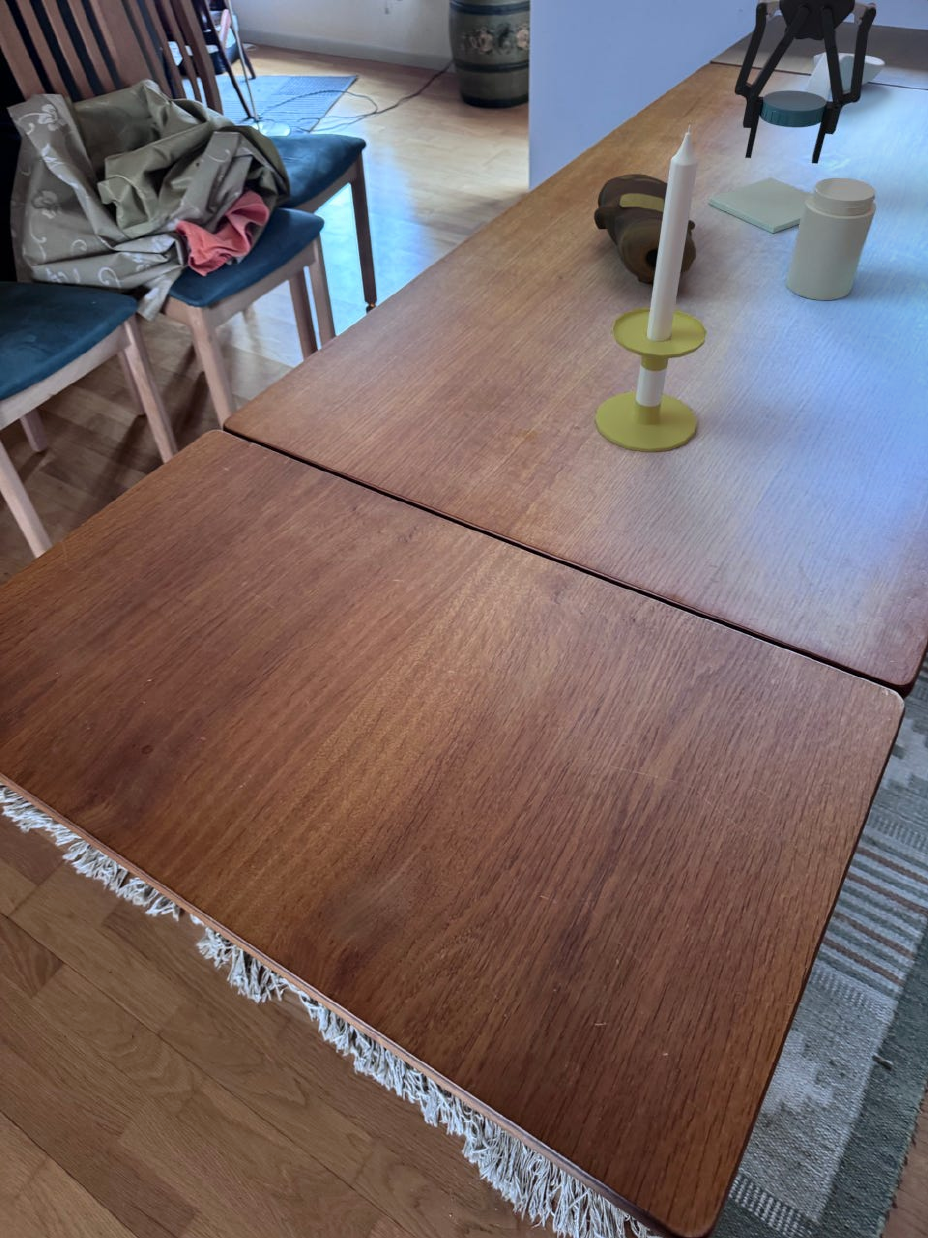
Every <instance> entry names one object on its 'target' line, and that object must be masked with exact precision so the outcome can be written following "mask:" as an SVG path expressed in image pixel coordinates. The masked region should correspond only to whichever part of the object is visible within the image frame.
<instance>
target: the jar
mask: <svg viewBox="0 0 928 1238" xmlns="http://www.w3.org/2000/svg"><path fill="white" fill-rule="evenodd" d="M812 191H813V192H812V193H810V194H811V195H810V196H808V197H807V198H806V200H805V204H804V208H803V212H802V216H801V220H800V224H798V229H797V232H796V237H795V241H794V243H793V248H792V252H791V256H790V260H789V264H788V268H787V272H786V276H785V280H784V283H785V286H786V288H787V289H788V290H789V291H791V292H792V293H794V294H795V295H798V296H800V297H802V298H806V299H809V300H817V301H832V300H833V301H834V300H839V299H842V298H844V297H846V296H847V295H849V294H850V292H851V291H852V288H853V285H854V281H855V278H856V275H857V272H858V269H859V266H860V262H861V259H862V257H863V253H864V250H865V246H866V243H867V240H868V236H869V233H870V230H871V227H872V223H873V221H874V217H875V214H876V211H877V205H876V203H875V202H874V201H875V199H876V189H875V188H874V187H873V186H872V185H871V184H870V183H867V182H865V181H861V180H859V179H855V178H849V177H829V178H825V179H821V180H819V181H818V182H816V183H815V185H814V187H813V190H812Z"/></svg>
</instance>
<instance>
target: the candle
mask: <svg viewBox="0 0 928 1238" xmlns="http://www.w3.org/2000/svg"><path fill="white" fill-rule="evenodd" d="M691 128H692V125H691V124H689V125H688V130H687V132H685V135H684V138H683V141H682V143H681V146H680V147H679V148H678V151H677V152H676V154H675V155H673V156H672V157H671V159H670V164H669V169H668V170H669V172H668V177H667V183H668V185H667V192H666V199H665V206H664V214H663V221H662V228H661V235H660V243H659V250H658V257H657V264H656V271H655V279H654V281H653V287H652V292H651V293H652V294H651V301H650V306H649V307H644V308H643V307H642V308H637V309H633V310H631V311H627V312H624V313H623V314H622V315H620V316H619V317H618V318H616V319H615V320H614V321H613V325H612V328H611V333H612V336H613V338H614V340H615V342H616V344H618V345H619V346H620V347H622V348H623V349H625V350H626V351H627V352H630V353H633V354H635V355H638V356H641V359H640V366H639V373H638V380H637V387H636V391H627V392H626V391H625V392H622V393H619V394H617V395H613V396H611V397H609V398H607V399H606V400H605V401H604V402H603V403H602V404H600V405H599V406H598V408H597V411H596V414H595V417H594V422H595V425H596V427H597V431H598V432H599V433H600V434H601V435H602V436H603V437H604V438H606V439H607V440H608V441H609V442H610V443H613V444H615V445H618V446H619V447H622V448H625V449H627V450H633V451H639V452H646V453H653V452H654V453H655V452H665V451H670V450H673V449H676V448H678V447H680V446H683V445H685V444H686V443H687V442H689V440H690V439H691V438H693V437H694V435H695V434H696V429H697V424H698V420H697V417H696V416H695V414H694V412H693V410H692V408H691V407H689V406H688V405H687V404H685V402H683V401H681V400H680V399H678V398H675V397H672V396H670V395H667V394H664V389H665V383H666V376H667V370H668V364H669V359H674V358H681V357H685V356H687V355H690V354H694V353H695V352H697V350H699V349H700V348H701V347H702V346H703V345H704V344H705V341H706V336H707V329H706V328H705V326H704V325H703V324H704V323H702V321H701V320H699V319H697V318H696V317H695V316H693V315H692V314H689V313H686V312H683V311H680V310H677V309H675V308H676V301H677V296H678V295H677V294H678V290H679V284H680V283H679V282H680V277H681V275H680V271H681V265H682V259H683V252H684V246H685V240H686V234H687V227H688V221H689V220H690V216H691V215H690V214H691V210H692V209H691V207H692V201H693V195H694V189H695V183H696V177H697V170H698V165H699V159H698V158H697V157H696V156H695V152H694V148H693V140H692V132H690V131H691Z"/></svg>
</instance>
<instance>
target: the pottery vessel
mask: <svg viewBox="0 0 928 1238" xmlns="http://www.w3.org/2000/svg"><path fill="white" fill-rule="evenodd" d="M667 185H668V182H666V181H664V180H662V179H660V178H658V177H654V176H651V175H647V174H642V173H641V174H640V173H630V174H624V175H620V176H615V177H612V178H610V179H608V180H606V182H605V183H604V184H603V186H602V188H601V190H600V192H599V193H598V196H597V208H596V209H595V210H594V212H593V220H594V223H595V225H596V227H597V229H598V230H599V231H601V230H606V231H607V234H608V236H609V237H610V239H611V241H612V242H613V243H614V244H615V245H616V246H617V252H618V255H619V259H620V260H621V262H622V264H623V265H624V266H625V268H626V269H627V270H628V271H629V272H630V273H631V274H633V275H634V276H635V277H637V281H638V282H645V283H650V282H654V279H655V271H656V264H657V257H658V250H659V243H660V235H661V228H662V221H663V214H664V206H665V199H666V192H667ZM694 229H696V223H695V221H693V220H691V219H689V221H688V227H687V234H686V240H685V246H684V252H683V259H682V265H681V271H680V276H682V275H684V274H685V273H686V272H687V271H689V270H690V269H691V267H692V266H693V263H694V262H695V260H696V258H697V257H696V256H697V248H696V245H695V242H694V240H693V237H692V236H693V233H692V231H693V230H694Z"/></svg>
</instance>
